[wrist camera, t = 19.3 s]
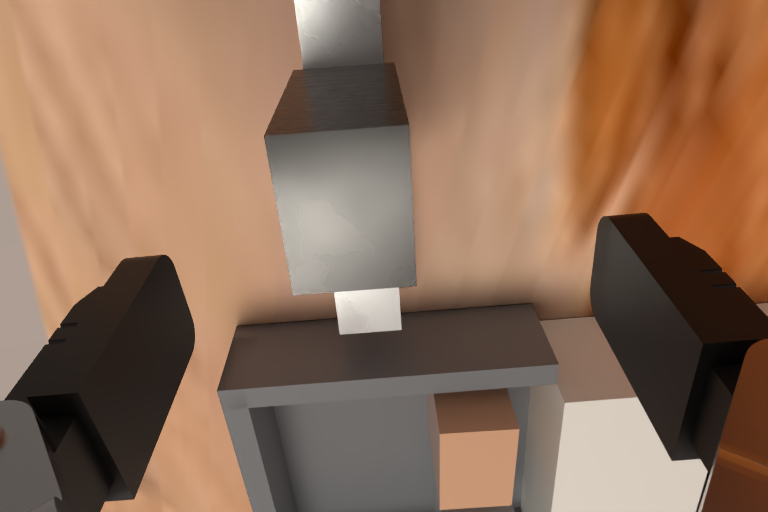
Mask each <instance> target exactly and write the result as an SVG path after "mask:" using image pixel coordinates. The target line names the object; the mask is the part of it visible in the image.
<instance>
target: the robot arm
mask: <svg viewBox="0 0 768 512" xmlns="http://www.w3.org/2000/svg"><path fill="white" fill-rule="evenodd" d="M590 298H591V305H592V310H593V313H594V316H595V319H596V321H597V323H598V325H599V327H600V328H601V330H602V332H603V334H604V336H605V338H606V340H607V341H608V343H609V345H610V347H611V349H612V351H613V353H614V354H615V356H616V358H617V360H618V362H619V364H620V366H621V368H622V369H623V371H624V373H625V375H626V377H627V379H628V381H629V382H630V384H631V386H632V388H633V390H634V392H635V394H636V395H637V397H638V399H639V401H640V403H641V405H642V407H643V408H644V410H645V412H646V414H647V416H648V418H649V420H650V422H651V423H652V425H653V427H654V429H655V431H656V433H657V435H658V436H659V438H660V440H661V442H662V444H663V446H664V448H665V449H666V451H667V453H668V455H669V457H670V459H671V461H680V460H693V459H701V461H702V463H703V464H704V466H705V468H706V469H707V471H708V472H707V475H706V478H705V481H704V484H703V488H702V491H701V494H700V498H699V501H698V505H697V508H696V511H695V512H768V316H767V315H766V314H765V313H764V312H763V311H762V310H761V309H760V308H759V307H758V306H757V305H756V304H755V303H754V302H753V301H752V300H751V299H750V297H749V296H748V295H747V294H746V293H745V292H744V291H743V290H742V289H741V288H740V287H736V283H735V282H734V281H733V280H732V279H731V278H730V277H729V276H728V274H727V273H726V272H722V268H721V267H720V266H719V265H718V264H717V263H716V262H715V261H714V260H713V259H712V258H711V257H710V256H709V255H708V254H707V253H706V251H704V250H702V249H700V248H699V247H697V246H695V245H693V244H691V243H689V242H687V241H686V240H684V239H682V238H680V237H671V238H669V236H668V235H667V234H666V233H665V232H664V231H663V230H662V229H661V227H660V226H659V225H658V224H657V223H656V222H655V221H654V220H653V218H652V217H651V216H650V215H649V214H647V213H637V214H626V215H615V216H604V217H602V218H601V220H600V222H599V224H598V229H597V236H596V244H595V253H594V261H593V269H592V277H591V286H590ZM60 325H61V328H57V329H56V331H55V332H54V333H53V335H52V336H51V338H50V339H49V340H48V341H49V344H48V345H45V346H44V347H43V348H42V350H41V351H40V352H39V354H38V355H37V357H36V358H35V359H34V361H33V362H32V363H31V365H30V366H29V367H28V369H27V370H26V371H25V373H24V374H23V375H22V377H21V378H20V380H19V381H18V382H17V384H16V385H15V386H14V388H13V389H12V390H11V392H10V393H9V394H8V396H7V397H6V398H5V400H4V401H0V512H100V511H101V509H102V506H103V504H104V502H105V501H118V500H132V499H134V498H135V496H136V493H137V491H138V488H139V486H140V483H141V481H142V478H143V476H144V473H145V471H146V468H147V466H148V463H149V461H150V458H151V456H152V453H153V451H154V448H155V446H156V443H157V441H158V438H159V436H160V433H161V431H162V428H163V425H164V423H165V420H166V418H167V415H168V413H169V410H170V408H171V405H172V403H173V400H174V398H175V395H176V393H177V390H178V388H179V385H180V383H181V380H182V378H183V375H184V373H185V370H186V368H187V365H188V363H189V360H190V358H191V355H192V352H193V349H194V343H195V329H194V323H193V319H192V316H191V313H190V310H189V307H188V304H187V302H186V299H185V296H184V293H183V290H182V287H181V284H180V281H179V278H178V275H177V272H176V270H175V267H174V264H173V262H172V260H171V259H170V258H169V257H168V256H167V255H157V256H145V257H134V258H125V259H123V260H122V261H121V262H120V264H119V265H118V266H117V268H116V269H115V271H114V272H113V274H112V275H111V276H110V278H109V279H108V281H107V282H106V284H105V285H104V286H102V287H97V288H96V289H95V290H93V291H92V292H91V293H89V294H88V295H87V296H85V297H84V298H83V299H82V300H80V301H79V302H78V303H76V304H75V305H74V306H73V308H72V309H71V310H70V312H69V313H68V314H67V316H66V317H65V319H64V320H63V321H62V323H61V324H60Z"/></svg>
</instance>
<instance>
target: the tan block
mask: <svg viewBox="0 0 768 512" xmlns="http://www.w3.org/2000/svg"><path fill="white" fill-rule="evenodd" d="M428 427H429V435H430V442H431V450H432V457H433V464H434V472H435V479H436V487H437V494H438V502H439V509H440V510H447V509H463V508H479V507H495V506H511V505H512V497H513V487H514V478H515V468H516V458H517V448H518V439H519V426H518V423H517V420H516V416H515V413H514V410H513V407H512V404H511V400H510V397H509V394H508V391H507V388H500V389H487V390H474V391H461V392H449V393H436V394H428Z"/></svg>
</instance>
